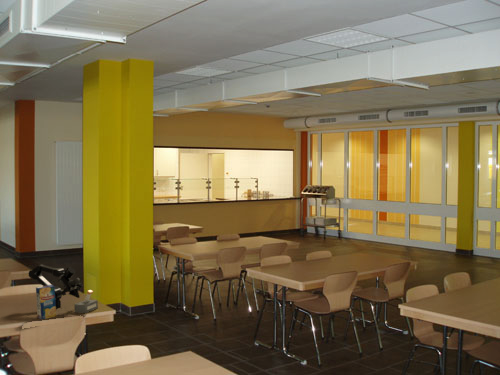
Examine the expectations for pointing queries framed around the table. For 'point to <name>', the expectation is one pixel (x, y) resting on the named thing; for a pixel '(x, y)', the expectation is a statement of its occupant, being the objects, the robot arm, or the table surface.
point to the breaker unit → (86, 306)
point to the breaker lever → (88, 295)
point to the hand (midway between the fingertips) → (79, 297)
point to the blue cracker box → (46, 302)
